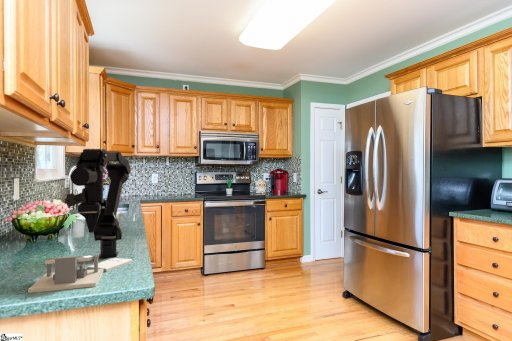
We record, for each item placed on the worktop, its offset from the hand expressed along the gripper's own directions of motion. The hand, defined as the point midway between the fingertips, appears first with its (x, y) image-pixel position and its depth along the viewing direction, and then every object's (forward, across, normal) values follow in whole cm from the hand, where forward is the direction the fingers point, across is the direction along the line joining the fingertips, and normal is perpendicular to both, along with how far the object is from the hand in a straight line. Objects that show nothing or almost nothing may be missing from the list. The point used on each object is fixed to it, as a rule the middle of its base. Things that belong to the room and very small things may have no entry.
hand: (93, 230), depth 108 cm
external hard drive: (+13, +2, +6) cm, 14 cm away
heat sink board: (+12, +16, -4) cm, 20 cm away
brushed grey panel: (+6, +12, -4) cm, 14 cm away
